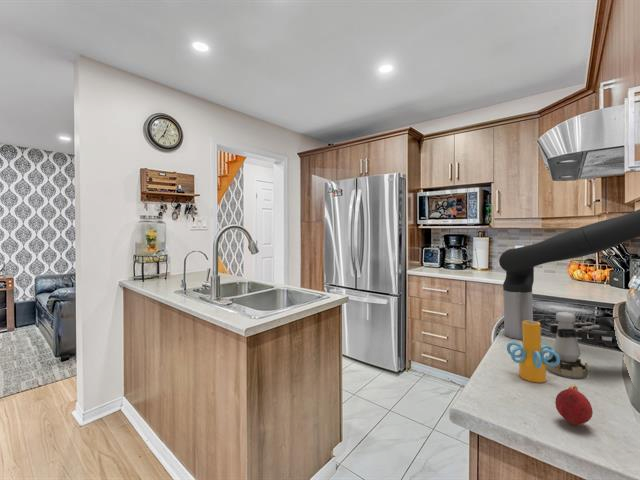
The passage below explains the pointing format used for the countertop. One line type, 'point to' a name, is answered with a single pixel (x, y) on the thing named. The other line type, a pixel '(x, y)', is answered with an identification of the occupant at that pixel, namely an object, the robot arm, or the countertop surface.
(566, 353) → the salt shaker
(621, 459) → the countertop surface
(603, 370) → the countertop surface
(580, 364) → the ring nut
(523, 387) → the countertop surface
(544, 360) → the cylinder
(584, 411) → the red oval fruit
